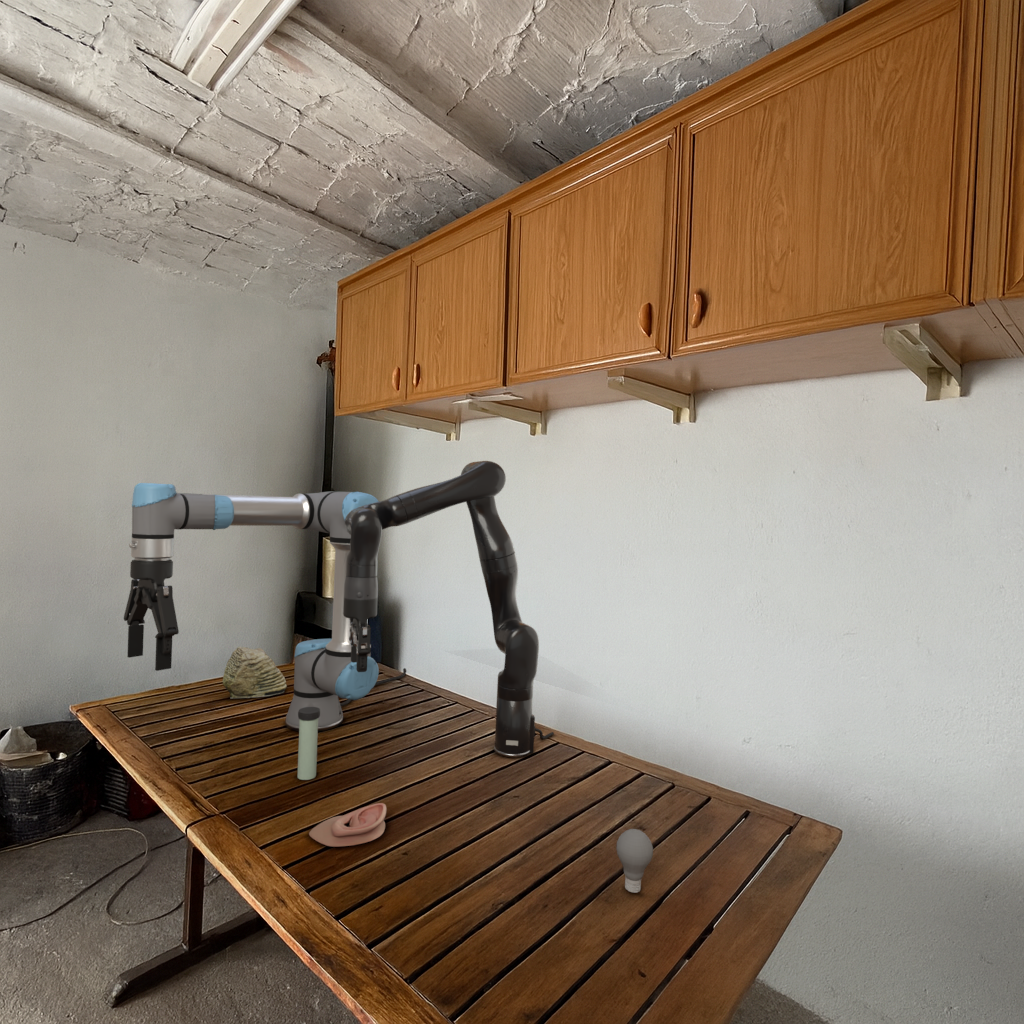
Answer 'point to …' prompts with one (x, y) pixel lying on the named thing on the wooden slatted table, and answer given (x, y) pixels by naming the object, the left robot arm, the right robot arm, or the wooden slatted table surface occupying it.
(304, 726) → the bottle
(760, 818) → the wooden slatted table surface
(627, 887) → the light bulb
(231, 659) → the fossil
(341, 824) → the anatomical model
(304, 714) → the lid
